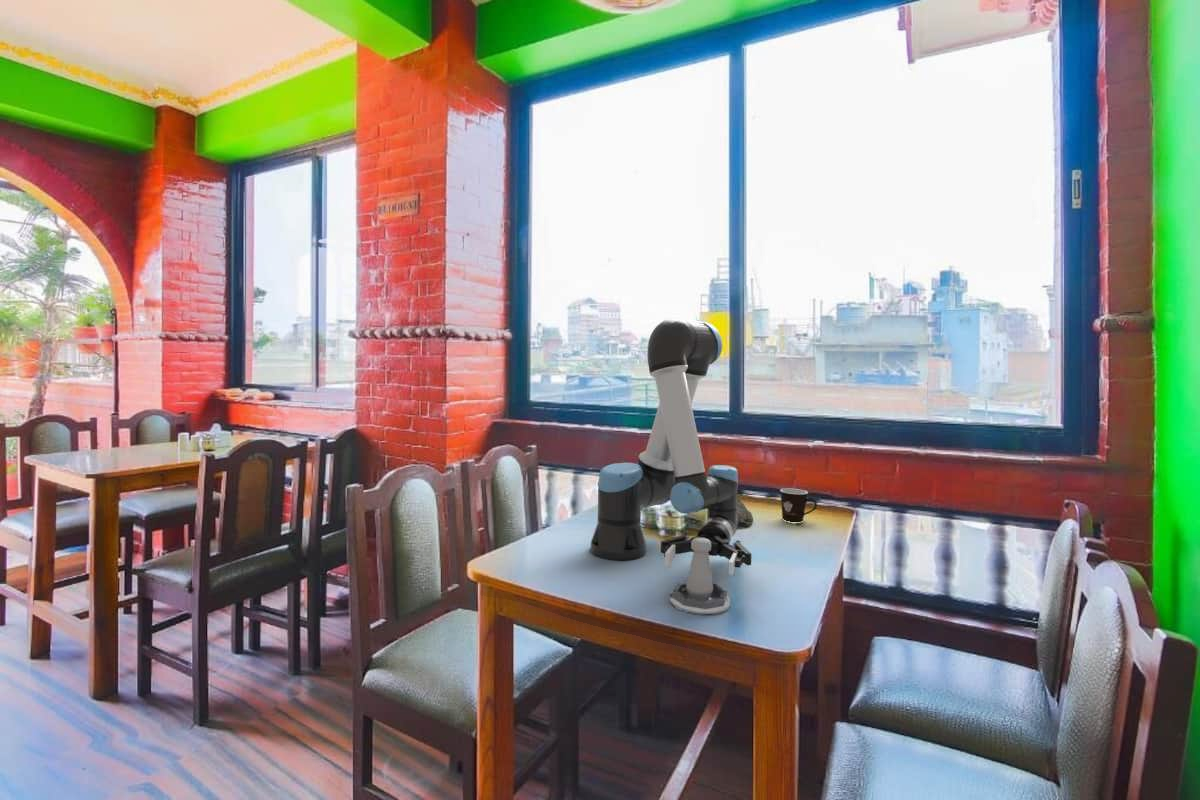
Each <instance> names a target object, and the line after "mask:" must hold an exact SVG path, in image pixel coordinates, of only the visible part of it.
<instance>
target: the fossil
mask: <svg viewBox="0 0 1200 800" xmlns="http://www.w3.org/2000/svg"><path fill="white" fill-rule="evenodd" d="M737 519H738V525H739V524H740V525H741V526H743V527H750V526H751V525H752V524H753V523H754V516H753V514H752V512H751V511H750V510H748V508H747V506H746V505H745V504H744V503H743V502H742V501H741V500H740V498H738V497H737ZM749 525H750V526H749Z"/></svg>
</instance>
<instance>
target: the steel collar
mask: <svg viewBox="0 0 1200 800" xmlns="http://www.w3.org/2000/svg"><path fill="white" fill-rule="evenodd" d="M686 584H687V581H685V582H684V581H683V582H678V583H676V585H675V586H674V588H673V590H672V591H670V593H669V603H670V602H671V603H672V604H673V605H674V606H675V607H677V608H679V609H681V610H683V611H682V612H684V611H687V612H691V613H696V614H695V615H697V614H715V615H718V614H717V613H720V614H723V613H725V612H727V611H728V610H730V608H729V607H731V599H730V597H729V595H728V591H727V590H726V589H724V588H723V587H721V586H719V585H717V584H716V583H713V592H712V594H711V596H710V598H709V599H708V600H701V599H695V598H690V597H689V594H688V591H687V587H686ZM671 603H670V604H671ZM672 604H671V605H672ZM674 606H673V607H674ZM675 607H674V608H675ZM677 608H676V609H677ZM679 609H678V610H679ZM681 610H680V611H681ZM726 610H727V611H726ZM724 611H725V612H724ZM687 612H686V613H687ZM722 612H723V613H722ZM691 613H690V614H691Z"/></svg>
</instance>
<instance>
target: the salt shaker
mask: <svg viewBox="0 0 1200 800" xmlns="http://www.w3.org/2000/svg"><path fill="white" fill-rule="evenodd" d="M691 548H692V550H694V552H692V558H691V563H690V566H689V567H690V568H689V572H688V577H687V581H686V582H687V584H686V587H687V591H688V594H689V597H690V598H695V599H701V600H708V599H709V598H710V596H711V594H712V592H713V584H714V583H713V576H712V569H711V562H710V555H709V554H708V551H710V550H711V541H710V540H708V539H706V538H694V539H693V540H692V542H691Z"/></svg>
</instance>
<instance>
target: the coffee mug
mask: <svg viewBox="0 0 1200 800" xmlns="http://www.w3.org/2000/svg"><path fill="white" fill-rule="evenodd" d="M779 491H780V502H781V517H782V518H783V519H784V520H786V521H790V522H801V521H803V522H804V517H805V515H808V514H810V513H812V512H813V511H815V510H816V509H817V506H818V503H817V501H816V500H815V499H814V498H811V497H809V498H808V494H809V492H808V491H807V490H804V489H799V488H792V487H791V488H781V489H780V490H779ZM808 501H812V502H813V503H814V507H813V508H812V509H810V510H809V511H805V510H806V505H807V502H808ZM783 519H782V520H783Z"/></svg>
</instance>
